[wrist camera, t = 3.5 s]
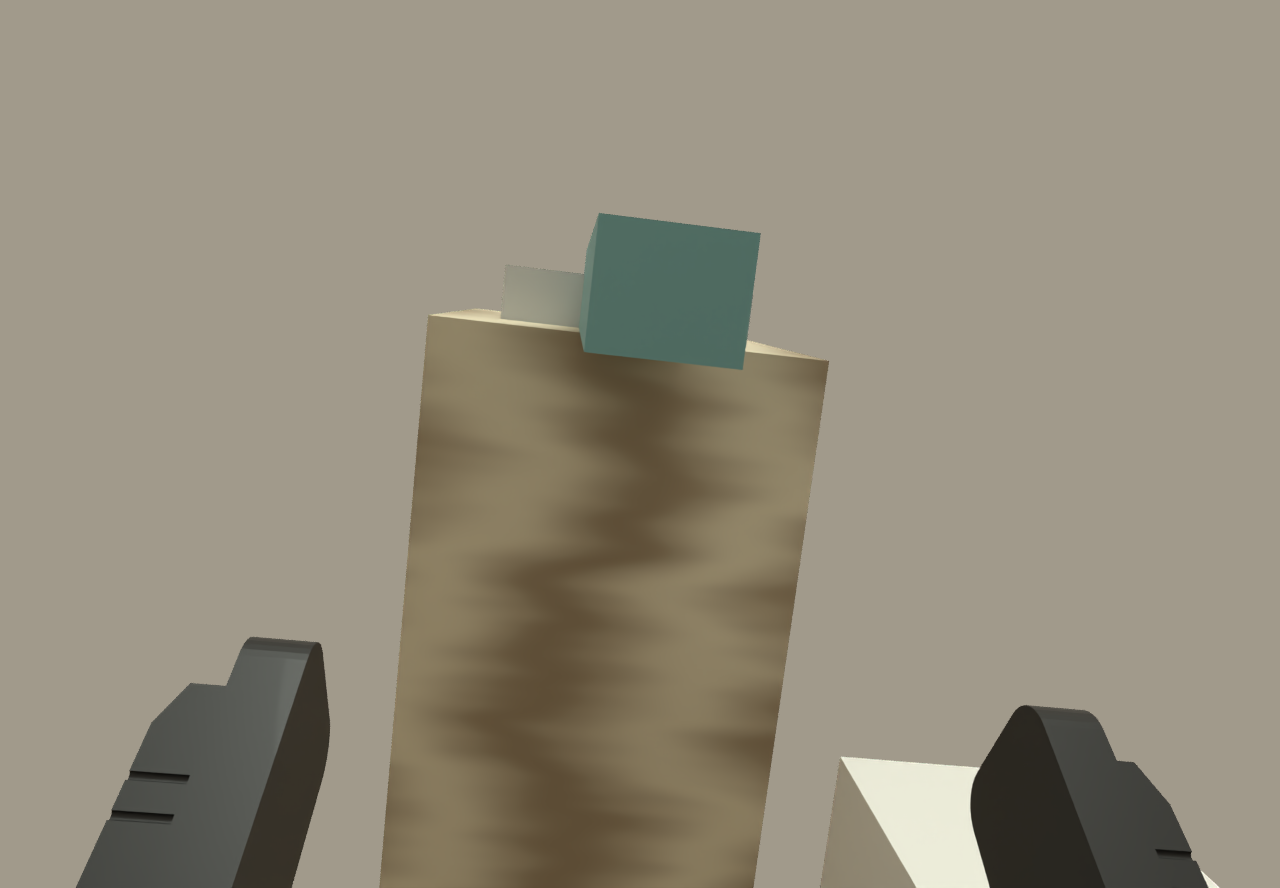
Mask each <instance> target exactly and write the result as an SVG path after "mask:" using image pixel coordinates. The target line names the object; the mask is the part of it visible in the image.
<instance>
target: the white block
mask: <svg viewBox="0 0 1280 888" xmlns="http://www.w3.org/2000/svg"><path fill="white" fill-rule="evenodd" d="M979 769H980V768H975V767H963V766H951V765H938V764H925V763H912V762H901V761H888V760H876V759H863V758H850V757H840V762H839V769H838V775H837V781H836V788H835V795H834V801H833V807H832V814H831V821H830V827H829V834H828V840H827V846H826V852H825V859H824V866H823V872H822V878H821V885H820V888H990V887H989V883H988V880H987V876H986V873H985V869H984V866H983V862H982V859H981V855H980V852H979V848H978V845H977V841H976V838H975V834H974V830H973V826H972V821H971V812H970V798H971V789H972V784H973V781H974V778H975V776H976V774H977V772H978V770H979ZM1201 872H1202V871H1201ZM1202 875H1203V877H1204V879H1205V881H1206V883H1207V885H1208V888H1219V887H1218V886H1217V885H1216V884H1215V883H1214V882H1213V881H1212V880H1210V879H1209V877H1207V876H1206V875H1205V874H1204V873H1203V872H1202Z"/></svg>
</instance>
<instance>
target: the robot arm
mask: <svg viewBox="0 0 1280 888" xmlns="http://www.w3.org/2000/svg"><path fill="white" fill-rule="evenodd" d="M329 736H330V718H329V709H328V699H327V690H326V680H325V670H324V661H323V652H322V647H321V644H320V643H318V642H307V641H295V640H283V639H272V638H259V637H250V638H249V639H248V640H247V641H246V642H245V643H244V645H243V647H242V649H241V651H240V653H239V656H238V658H237V660H236V663H235V665H234V668H233V670H232V673H231V675H230V678H229V680H228V683H227V685H226V686H219V685H207V684H193V683H190V684H189V685H188V686H187V687H186V688H185V689H184V690H183V691H182V692H181V693H180V694H179V695H178V696H177V697H176V699H174V700H173V701H172V703H171V704H169V706H168V707H167V708H166V709H165V710H164V711H163V712H162V713H161V714H160V715H159V716H158V717H157V718H156V719H155V720H154V721H153V722H152V723H151V725H150V727H149V729H148V731H147V734H146V736H145V738H144V740H143V742H142V745H141V747H140V749H139V751H138V753H137V755H136V758H135V760H134V762H133V764H132V766H131V769H130V775H129V778H128V780H125V782H124V784H123V786H122V788H121V790H120V793H119V795H118V797H117V799H116V801H115V803H114V806H113V808H112V815H111V817H110V819H109V820H107V821H106V823H105V826H104V828H103V830H102V832H101V834H100V836H99V838H98V841H97V843H96V845H95V847H94V850H93V852H92V854H91V856H90V858H89V860H88V862H87V864H86V867H85V869H84V871H83V873H82V875H81V878H80V880H79V882H78V884H77V886H76V888H292V884H293V881H294V877H295V874H296V870H297V866H298V863H299V859H300V856H301V852H302V849H303V845H304V842H305V838H306V834H307V831H308V828H309V824H310V821H311V817H312V814H313V810H314V806H315V803H316V799H317V796H318V792H319V789H320V785H321V782H322V778H323V774H324V770H325V765H326V760H327V753H328V747H329ZM970 812H971V821H972V826H973V830H974V834H975V838H976V841H977V845H978V848H979V852H980V855H981V859H982V862H983V866H984V869H985V873H986V876H987V880H988V883H989V887H990V888H1208V885H1207V883H1206V881H1205V879H1204V877H1203V875H1202V872H1201V870H1200V868H1199V866H1198V864H1197V862H1196V861H1193V860H1192V858H1191V852H1192V851H1191V849H1190V847H1189V844H1188V842H1187V840H1186V838H1185V836H1184V834H1183V831H1182V829H1181V827H1180V825H1179V823H1178V821H1177V819H1176V816H1175V814H1174V812H1173V810H1172V808H1171V806H1170V804H1169V803H1168V802H1167V800H1166V799H1165V798H1164V797H1163V796H1162V795H1161V793H1160V792H1159V791H1158V790H1157V789H1156V788H1155V786H1154V785H1153V784H1152V783H1151V782H1150V780H1149V779H1148V778H1147V777H1146V776H1145V775H1144V773H1143V772H1142V771H1141V770H1140V769H1139V768H1138V766H1137V765H1136V764H1135V763H1134V762H1123V761H1117V760H1116V758H1115V756H1114V753H1113V751H1112V749H1111V746H1110V744H1109V742H1108V739H1107V737H1106V735H1105V733H1104V730H1103V728H1102V726H1101V724H1100V723H1099V721H1098V720H1097V719H1096V717H1095V716H1094V715H1093V714H1091V713H1090V712H1088V711H1085V710H1075V709H1063V708H1051V707H1039V706H1027V705H1024V706H1021V707H1019V708H1018V709H1017V710H1015V712H1014V713H1013V715H1012V716H1011V718H1010V720H1009V721H1008V723H1007V724H1006V726H1005V728H1004V729H1003V731H1002V733H1001V734H1000V736H999V738H998V739H997V741H996V742H995V744H994V746H993V747H992V749H991V751H990V752H989V754H988V756H987V757H986V759H985V761H984V762H983V764H982V766H981V767H980V769H979V770H978V772H977V774H976V776H975V778H974V781H973V784H972V789H971V798H970Z"/></svg>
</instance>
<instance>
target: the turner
mask: <svg viewBox="0 0 1280 888" xmlns="http://www.w3.org/2000/svg"><path fill="white" fill-rule="evenodd" d="M759 242H760V233H754V232H746V231H738V230H730V229H721V228H714V227H706V226H698V225H690V224H682V223H673V222H666V221H658V220H650V219H642V218H634V217H626V216H618V215H610V214H602V213H599V215H598V218H597V221H596V224H595V227H594V230H593V233H592V236H591V239H590V242H589V245H588V248H587V253H586V262H585V272H584V274H579V273H570V272H562V271H554V270H546V269H537V268H529V267H521V266H512V265H506V267H505V278H504V287H503V298H502V308H501V319H507V320H515V321H524V322H533V323H541V324H550V325H559V326H567V327H576V328H579V331H580V336H581V340H582V345H583V350H584V352H588V353H597V354H605V355H614V356H623V357H632V358H641V359H650V360H659V361H667V362H676V363H685V364H694V365H703V366H712V367H720V368H729V369H738V370H743V364H744V356H745V349H746V345H747V337H748V329H749V322H750V314H751V306H752V299H753V287H754V280H755V272H756V264H757V257H758V250H759Z"/></svg>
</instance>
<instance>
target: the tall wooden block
mask: <svg viewBox="0 0 1280 888" xmlns="http://www.w3.org/2000/svg"><path fill="white" fill-rule="evenodd" d="M828 365H829V361H827V360H823V359H819V358H815V357H811V356H807V355H803V354H799V353H796V352H791V351H788V350H784V349H780V348H776V347H772V346H768V345H764V344H760V343H756V342H752V341H748V340H747V345H746V349H745V356H744V364H743V370H738V369H729V368H720V367H712V366H703V365H694V364H685V363H676V362H667V361H659V360H650V359H641V358H632V357H623V356H614V355H605V354H597V353H588V352H584V350H583V345H582V340H581V336H580V331H579V328H576V327H567V326H559V325H550V324H541V323H533V322H524V321H515V320H507V319H501V311H493V310H483V309H469V310H462V311H454V312H447V313H440V314H432V315H428V324H427V336H426V347H425V360H424V371H423V383H422V394H421V406H420V418H419V430H418V441H417V454H416V465H415V477H414V488H413V500H412V513H411V523H410V535H409V547H408V559H407V571H406V582H405V594H404V605H403V618H402V630H401V641H400V652H399V665H398V676H397V688H396V699H395V711H394V722H393V734H392V746H391V758H390V769H389V782H388V793H387V805H386V817H385V829H384V840H383V852H382V863H381V876H380V887H379V888H753V886H754V879H755V872H756V865H757V858H758V851H759V844H760V838H761V830H762V824H763V817H764V809H765V803H766V796H767V789H768V782H769V775H770V767H771V761H772V754H773V747H774V740H775V733H776V726H777V719H778V712H779V705H780V698H781V691H782V685H783V677H784V671H785V663H786V657H787V650H788V643H789V636H790V629H791V622H792V615H793V608H794V600H795V594H796V587H797V580H798V573H799V566H800V559H801V551H802V545H803V538H804V531H805V524H806V518H807V510H808V503H809V497H810V489H811V483H812V475H813V469H814V462H815V455H816V448H817V441H818V434H819V427H820V420H821V413H822V406H823V399H824V392H825V385H826V378H827V371H828Z"/></svg>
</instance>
